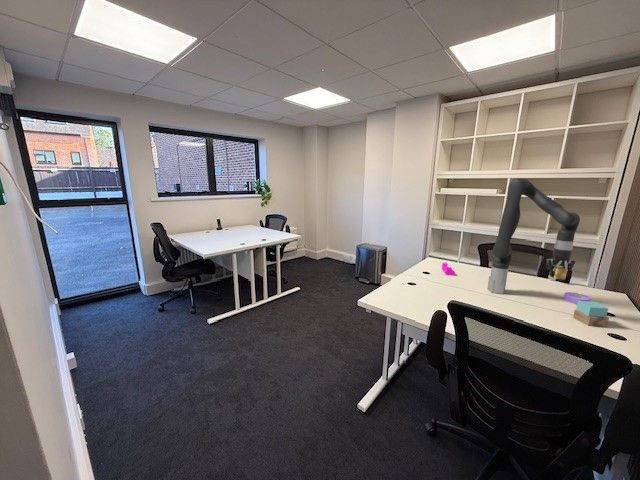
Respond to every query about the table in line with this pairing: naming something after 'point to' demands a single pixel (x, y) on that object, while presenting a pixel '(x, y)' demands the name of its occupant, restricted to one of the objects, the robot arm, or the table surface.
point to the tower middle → (592, 309)
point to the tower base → (590, 319)
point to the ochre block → (560, 273)
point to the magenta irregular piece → (447, 269)
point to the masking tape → (575, 297)
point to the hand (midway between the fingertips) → (557, 276)
